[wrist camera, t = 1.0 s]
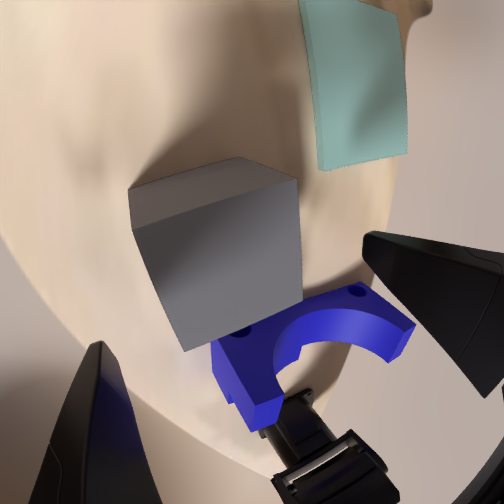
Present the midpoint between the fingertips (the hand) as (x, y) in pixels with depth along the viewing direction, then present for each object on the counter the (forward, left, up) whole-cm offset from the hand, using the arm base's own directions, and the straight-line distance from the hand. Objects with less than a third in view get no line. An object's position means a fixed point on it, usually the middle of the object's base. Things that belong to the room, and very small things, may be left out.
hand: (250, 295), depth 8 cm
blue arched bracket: (-9, -4, -6) cm, 12 cm away
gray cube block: (0, 0, -6) cm, 6 cm away
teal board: (+6, -10, -5) cm, 13 cm away
